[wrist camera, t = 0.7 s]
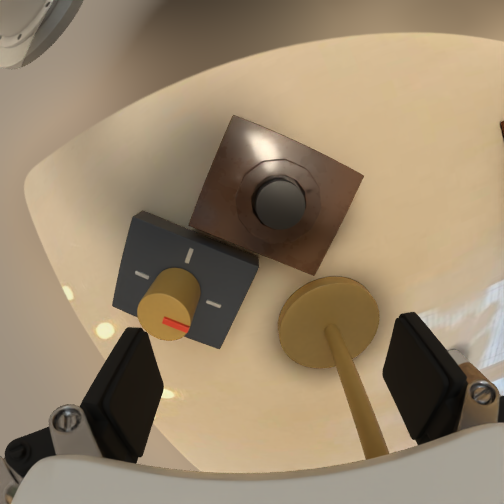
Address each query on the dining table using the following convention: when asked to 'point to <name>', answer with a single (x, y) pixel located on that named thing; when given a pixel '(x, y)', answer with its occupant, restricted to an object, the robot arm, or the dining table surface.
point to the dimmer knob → (169, 304)
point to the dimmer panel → (192, 260)
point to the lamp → (335, 342)
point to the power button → (280, 204)
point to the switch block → (259, 172)
